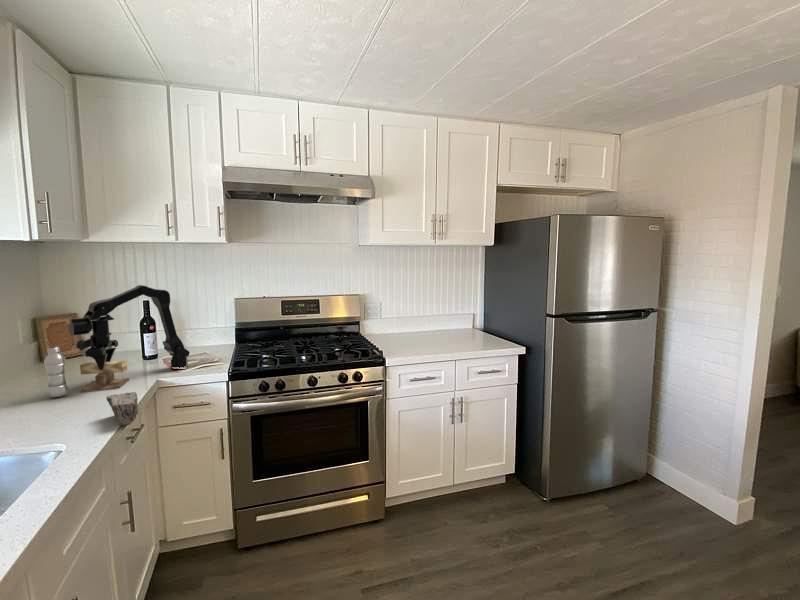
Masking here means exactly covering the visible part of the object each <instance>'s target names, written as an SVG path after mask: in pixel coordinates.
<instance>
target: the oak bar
mask: <svg viewBox="0 0 800 600" xmlns="http://www.w3.org/2000/svg"><path fill="white" fill-rule="evenodd" d="M79 370H80V375H98V374H102V373H114V374H120V373H124V372H126V371H127V370H128V364H127V360H118V361H117V360H116V361H115V360H114V361H112V360H111V361H110V362H105V364H104V368H103V370H100V369H99V367H98V365H97V363H96V361H93V362H84V363H81V364H80V365H79Z"/></svg>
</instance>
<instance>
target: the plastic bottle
mask: <svg viewBox="0 0 800 600" xmlns="http://www.w3.org/2000/svg"><path fill="white" fill-rule="evenodd" d="M46 350H47V351H46V352H47V355H46V356H45V358H44V361H43V364H44V368H45V370H46V376H47V386H46V395H47V396H48V397H49V398H60V397H64V396H66V395H67V394H68V393H69V386H68V383H67V379H66V373H65V372H66V361H67V360H66V357H65V356H64V355H63V353H61V349H60V346H58V345H57V346H49V347H47V349H46Z"/></svg>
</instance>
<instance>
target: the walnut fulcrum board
mask: <svg viewBox="0 0 800 600" xmlns="http://www.w3.org/2000/svg"><path fill="white" fill-rule="evenodd" d="M94 377H95V380H91V381H90V382H88V383H87V384H85V386H83V387H81V388H80V390H79V391H85V392H92V391H91V390H97V391H103V390H102V389H109V390H117V389H116V388H120V387H121V388H122V387H123V386H124V385H125V384H127V383H128V382H129V380H130V378H129V377H125V378H124V377H121V378H115V373H102V374H95V376H94ZM121 388H120V389H121Z"/></svg>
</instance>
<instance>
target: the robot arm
mask: <svg viewBox="0 0 800 600" xmlns="http://www.w3.org/2000/svg"><path fill="white" fill-rule="evenodd" d="M141 296H145V297H149V298H150V299H151V301H152V304H154V306H155V308H157V310H158V313H159V317H160V320H161V324H162V327H163V331H164V334H165V340H164V341H163V340H162V345H163V350H165V351H166V352H167V353H168V354H169V356H171V359H170V368H171V369H172V367H179V368H180V367H184V366H187V364H188V363H189V362H188V357H189V356H190V351H189V350H188V349H186V348H185V345H184V344H183V341H182V340H181V338H180V337H179V336H178V334H177V331H176V327H175V323H174V319H173V317H172V313H171V308H170V306H171V294H170V292H169V291H168V290H165V289H157V288H156V289H155V288H152V287H150V286H149V287H148V286H146V285H141V284H140V285H136V286H135V287H133V288H130V289H127V290H126V291H123V292H121V293H119V294H117V295H115V296H112V297H110V298H109V297H108V298H106V299H100V300H96V301H93V302H91V303H90V304H89V306H88V309H87V311H86V313H85V314H84V315H83V316H82V317H79V318H70V319H69V323H68V332H69V334H70V336H80V335H87V334H90V333H91V332H92V334H91V335H89V336H90V337H89V338H88V339H85V340H84V339H81V340H78V341H76V346H75V348H77V349H79V351H80V352H81V351H83V350H85V349H86V350H85V351H84V356H85V357H86V358H87V357H88V358H92V359H93V360H94V362H96V363H97V365H98V367H99V369H100V370H103V368H104V364H105V362H112V358H113V355H114V353H115V351H116V349H117V348H118V346H119V341H118V340H117V339H111V335H112V332H110V326H109V321H113V320H115V318H114V317H112V316H111V315H110V313H111V312H113V311H114V310H115V309H116V308H117V307H119V306H121V305H124V304H125V303H127V302H130V301H132V300H135V299H136V298H139V297H141ZM87 348H88V349H87ZM188 365H189V364H188Z"/></svg>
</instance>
